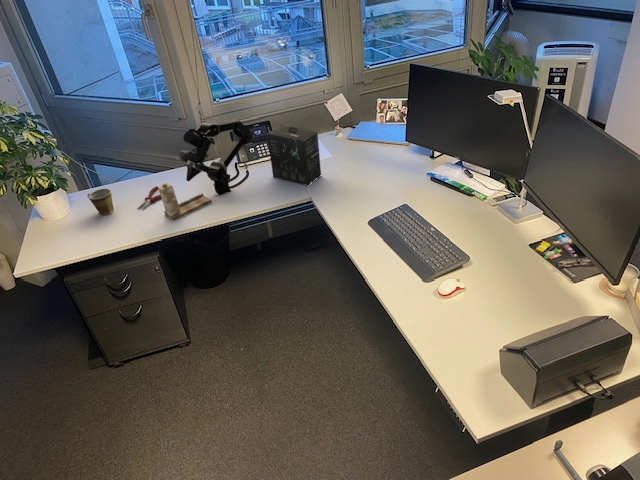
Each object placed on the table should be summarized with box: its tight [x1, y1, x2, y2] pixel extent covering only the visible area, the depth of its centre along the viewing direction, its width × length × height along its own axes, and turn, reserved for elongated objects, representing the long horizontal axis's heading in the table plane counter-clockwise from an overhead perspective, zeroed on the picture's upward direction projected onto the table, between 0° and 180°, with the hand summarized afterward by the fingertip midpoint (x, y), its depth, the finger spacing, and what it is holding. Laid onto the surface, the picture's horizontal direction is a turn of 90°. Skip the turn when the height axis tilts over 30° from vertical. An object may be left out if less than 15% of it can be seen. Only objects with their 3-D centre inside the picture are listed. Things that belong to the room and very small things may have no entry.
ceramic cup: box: [87, 188, 115, 216], centre depth 221 cm, size 13×10×10 cm
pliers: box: [136, 186, 162, 210], centre depth 229 cm, size 12×20×3 cm, turn 159°
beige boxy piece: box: [157, 182, 180, 216], centre depth 209 cm, size 5×8×15 cm, turn 44°
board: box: [163, 192, 212, 222], centre depth 218 cm, size 21×8×2 cm, turn 134°
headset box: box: [266, 124, 322, 186], centre depth 227 cm, size 22×12×26 cm, turn 58°
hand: (187, 180), depth 212 cm, fingers closed
